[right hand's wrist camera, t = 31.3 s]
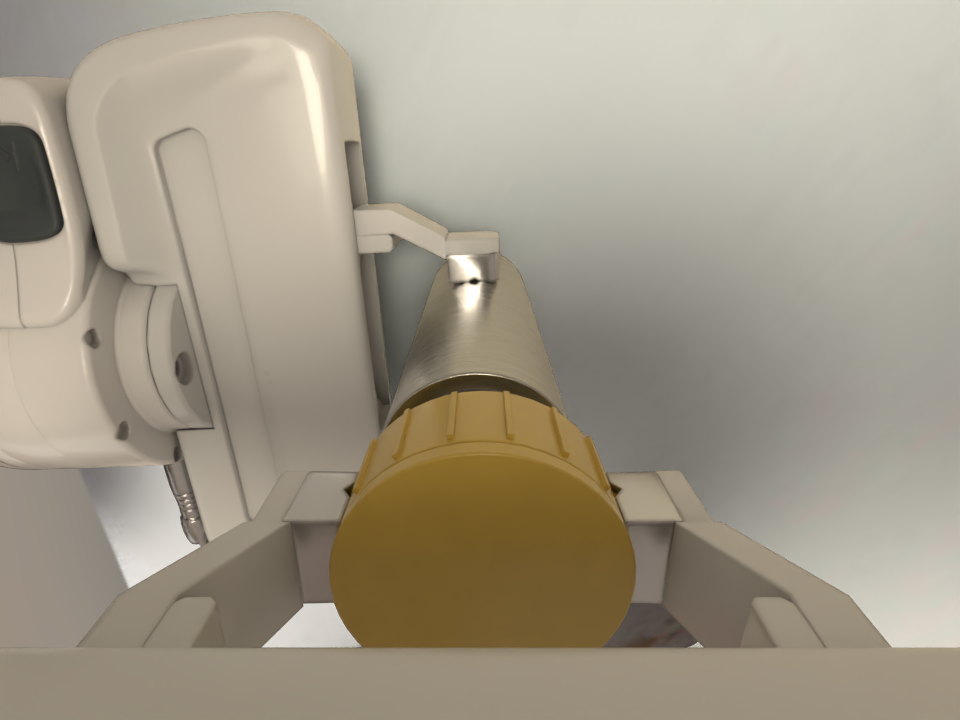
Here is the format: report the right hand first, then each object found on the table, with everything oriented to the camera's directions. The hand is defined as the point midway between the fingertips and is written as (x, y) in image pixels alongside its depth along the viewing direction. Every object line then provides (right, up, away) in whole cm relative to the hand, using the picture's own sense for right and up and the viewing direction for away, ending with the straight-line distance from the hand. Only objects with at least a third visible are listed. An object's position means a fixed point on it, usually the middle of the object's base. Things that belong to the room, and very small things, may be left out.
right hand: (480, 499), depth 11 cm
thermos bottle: (0, +6, +14) cm, 15 cm away
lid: (0, -1, -2) cm, 2 cm away
